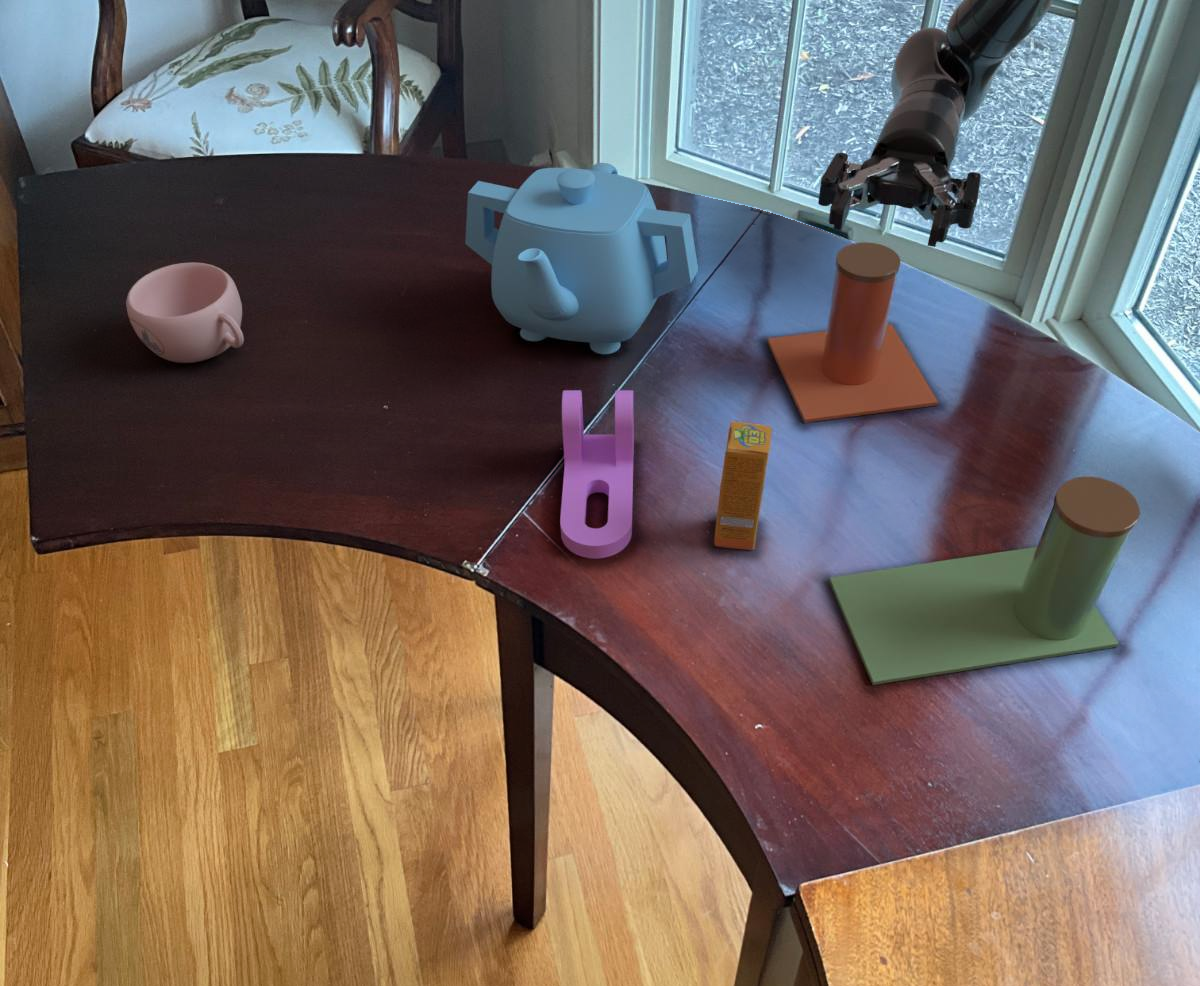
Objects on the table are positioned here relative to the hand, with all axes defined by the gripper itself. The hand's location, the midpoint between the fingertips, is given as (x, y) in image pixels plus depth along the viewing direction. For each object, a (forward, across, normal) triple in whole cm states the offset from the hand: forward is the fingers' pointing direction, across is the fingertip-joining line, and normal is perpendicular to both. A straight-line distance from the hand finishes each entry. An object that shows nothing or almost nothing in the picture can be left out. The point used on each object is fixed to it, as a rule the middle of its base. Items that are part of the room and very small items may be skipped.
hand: (885, 229), depth 100 cm
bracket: (+33, -16, +9) cm, 37 cm away
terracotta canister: (+10, 0, +8) cm, 13 cm away
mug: (+25, -58, +9) cm, 64 cm away
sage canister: (+34, +20, +8) cm, 40 cm away
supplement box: (+33, -4, +9) cm, 34 cm away
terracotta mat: (+10, 0, +9) cm, 13 cm away
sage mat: (+35, +14, +8) cm, 39 cm away
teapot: (+11, -26, +9) cm, 30 cm away
